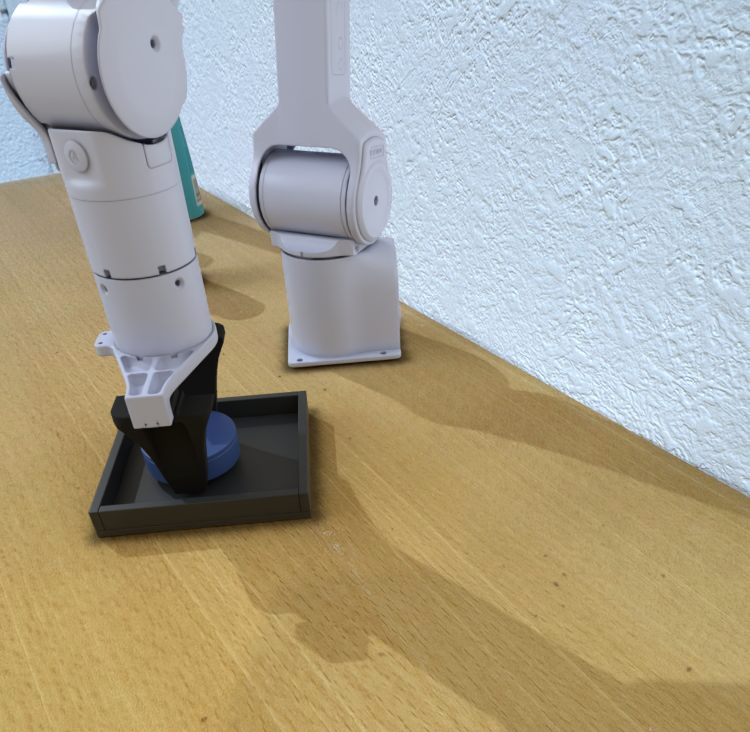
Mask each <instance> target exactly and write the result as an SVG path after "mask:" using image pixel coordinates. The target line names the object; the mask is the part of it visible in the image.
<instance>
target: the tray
mask: <svg viewBox="0 0 750 732" xmlns="http://www.w3.org/2000/svg"><path fill="white" fill-rule="evenodd" d="M217 404H218V412H220V413H222V414H225V415H226V416H228V417H229V418H231V419H232V421H233V422H234V424H235V427H236V431H237V436H238V441H239V445H240V455H239V458H238V460H237V462H236V463H235V464H234V465H233V467H232V468H230V469H229V470H228V471H227V472H225V473H224V474H222V475H220V476H219V477H216V478H214V479H212V480H209V481H208V483H207V489H206V491H204V492H193V493H183V494H175V493H174V491H173V490H172V489H171V487H170V486H169V485H168V484H166V483H163V482H160V481H158V480H157V479H155V478H154V477H153V476H152V475H151V474H150V473H149V471H148V469H147V465H146V462H145V459H144V456H143V453H142V450H141V447H140V446H139V445H138V444H137V443H136V442H135V441H133V440H132V439H131V438H130V437H128V436H127V435H126V434H124V433H123V432H121V431H120V430H118V429H117V432H116V434H115V437H114V440H113V442H112V445H111V448H110V452H109V454H108V457H107V459H106V463H105V465H104V468H103V471H102V473H101V476H100V479H99V481H98V485H97V486H96V487H97V488H96V491H95V493H94V495H93V499H92V501H91V503H90V507H89V510H88V516H89V518H90V521H91V523H92V525H93V528H94V530H95V533H96V536H97V537H98V538H104V537H105V538H106V537H116V536H126V535H127V536H128V535H137V534H150V533H157V532H158V533H159V532H160V533H161V532H169V531H181V530H192V529H202V528H212V527H224V526H234V525H244V524H256V523H266V522H276V521H288V520H299V519H309V518H312V516H313V515H312V483H311V482H312V481H311V438H310V437H311V436H310V410H309V403H308V394H307V390H299V391H298V390H294V391H283V392H282V391H281V392H272V393H261V394H260V393H259V394H248V395H247V394H246V395H237V396H225V397H217Z"/></svg>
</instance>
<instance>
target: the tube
mask: <svg viewBox="0 0 750 732" xmlns="http://www.w3.org/2000/svg"><path fill="white" fill-rule="evenodd" d="M170 130H171V134H172V139H173V144H174V148H175V153H176V158H177V162H178V167H179V172H180V177H181V182H182V186H183V191H184V196H185V200H186V205H187V210H188V214H189V219H190V221H191V220H195V219H198V218H200V217H202V216H203V215H204V214H205V208H204V204H203V199H202V195H201V191H200V188H199V184H198V179H197V175H196V172H195V169H194V164H193V160H192V157H191V153H190V149H189V145H188V142H187V137H186V135H185V132H184V128H183V124H182V120H181V117H180V116H179V117H178V119H177V121H176V123H175V124H174V126H173V127H172V128H171V129H170Z"/></svg>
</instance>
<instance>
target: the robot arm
mask: <svg viewBox="0 0 750 732" xmlns="http://www.w3.org/2000/svg"><path fill="white" fill-rule="evenodd" d="M26 1H27V2H20V3H19V4H17V6H16V8H15V9H14V11H13V12H12V14H11V17H10V19H9V21H8V23H7V27H6V29H5V32H4V37H3V47H2V49H3V60H4V66H5V71H4V72H3V73H0V83H1V86H2V88H3V90H4V92H5V94H6V96H7V98H8V100H9V102H10V103H11V105H12V107H14V109H15V110H16V112H17V113H18V114H19V115H20V116H21V118H22V119H23V120H24V121H26V123H28V125H30V126H31V127H32V128H33V129H34V130H35V132H36V133H37V134H38V136H39V137H40V139H41V141H42V144H43V147H44V150H45V153H46V155H47V159H48V162H49V164H50V165H51V164H53V165H54V166H55V169H56V170H57V171H58V172H59V173H60V174H61V177H62V181H63V184H64V186H65V190H66V192H67V193H66V194H67V195H68V199H69V203H70V207H71V209H72V212H73V215H74V218H75V222H76V224H77V225H76V226H77V228H78V231H79V235H80V238H81V241H82V245H83V248H84V251H85V254H86V256H87V257H86V258H87V261H88V263H89V267H90V269H91V271H92V272H91V273H92V275H93V278H94V281H95V284H96V288H97V291H98V294H99V297H100V300H101V304H102V307H103V310H104V314H105V317H106V320H107V322H108V326H109V329H110V330H105V331H101V332H100V333H99V334H98V335H97V338H96V340H95V342H94V349H95V351H96V355H98V356H100V357H114V358H115V359H116V362H117V365H118V367H119V371H120V372H121V375H122V378H123V381H124V383H125V387H126V389H125V390H126V391H125V394H123V395H116V396H115V398H114V400H113V403H112V406H111V408H110V416H111V419H112V421H113V424H114V426H115V428H116V429H117V431H118V430H120V431H121V432H123V433H124V434H126V435H127V436H128V437H130V438H131V439H132V440H133V441H135V442H136V443H137V444H138V445H139V446H140V447H141V448H142V449H143V450H144V451H145V452H146V453H147V454H148V456H149V457H150V458H151V460H152V461H153V462H154V464H155V465H156V467H157V468H158V470H159V471H160V473H161V474H162V476H163V477H164V479H165V480H166V482H167V483H168V485H169V486H170V487H171V489H172V490H173V491H174V493H175V494H183V493H193V492H204V491H206V489H207V483H208V458H207V447H206V429H207V423H208V420H209V417H210V414H211V411H216V412H218V404H217V398H218V369H219V360H220V355H221V352H222V349H223V347H224V343H225V338H226V328H225V325H223V324H222V323H219V322H215V321H214V320H213V318H212V317H211V313H210V308H209V303H208V299H207V295H206V290H205V285H204V279H203V275H202V270H201V266H200V261H199V256H198V253H197V247H196V243H195V238H194V234H193V229H192V224H191V220H190V219H189V214H188V210H187V205H186V200H185V196H184V191H183V186H182V182H181V177H180V172H179V167H178V162H177V158H176V153H175V148H174V144H173V139H172V134H171V130H170V129H171V128H172V127H173V126H174V124H175V123H176V121H177V119H178V117H180V114H181V111H182V108H183V105H184V104H185V102H186V100H187V94H188V74H187V65H186V59H185V54H184V49H183V38H184V37H183V35H184V32H185V26H184V25H183V20H184V16H183V14H182V12H181V11H180V10H179V4H180V0H26ZM350 3H351V1H350V0H272V7H273V9H272V10H273V27H274V43H275V61H276V63H275V64H276V79H277V83H276V84H277V99H278V102H277V104H276V105H275V107H274V108H273V109H272V110H271V111H270V112H269V113H268V114H267V116H266V117H265V118H264V119H263V120H262V121H261V122H260V123H259V125H257V126H256V128H255V129H254V130H253V133H252V146H253V147H252V148H253V151H252V152H253V153H252V155H253V156H252V163H251V164H252V165H251V171H250V174H249V180H248V201H249V205H250V209H251V211H252V214H253V217H254V219H255V221H256V223H257V225H258V227H260V229H261V230H263V231H264V232H266V233H268V234H269V235H270V242H271V246H272V247H277V248H279V249H280V256H281V264H282V271H283V277H284V284H285V285H284V287H285V293H286V301H287V309H288V315H289V323H288V336H287V337H288V338H287V339H288V343H287V344H288V345H287V365H288V367H290V368H303V367H316V366H328V365H329V366H330V365H341V364H350V363H363V362H375V361H385V360H386V361H387V360H397V359H400V358H401V357H402V350H401V329H400V327H401V325H402V312H401V311H402V310H401V304H400V291H399V288H400V287H399V286H400V285H399V271H398V269H399V268H398V258H397V250H396V244H395V241H394V240H395V239H394V238H393V237H390V236H382V237H381V235H382V234H383V232H384V231H385V230H386V227H387V224H388V222H389V219H390V216H391V215H390V214H391V211H392V205H393V203H392V202H393V186H392V179H391V175H390V172H389V166H388V153H387V142H386V141H387V139H386V138H387V137H386V134H385V133H384V132H383V131H382V130H381V129H380V127H378V125H377V124H375V122H373V121H372V120H371V119H370V118H369V117H368V116H366V114H364V113H363V112H362V111H361V109H360V108H358V107H357V106H356V104H354V103H353V102H352V100H351V23H350V22H351V17H350V15H351V14H350V13H351V12H350V11H351V6H350V5H351V4H350ZM296 147H303V148H305V147H306V148H321V149H332V150H335V151H338V152H330V151H315V150H302V149H296Z"/></svg>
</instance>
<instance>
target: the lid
mask: <svg viewBox="0 0 750 732" xmlns="http://www.w3.org/2000/svg"><path fill="white" fill-rule="evenodd" d="M206 447H207V458H208V481H209V480H212V479H214V478H216V477H219V476H220V475H222V474H224V473H225V472H227V471H228V470H229V469H230V468H232V467H233V465H234V464H235V463H236V462H237V460H238V458H239V455H240V445H239V441H238V436H237V431H236V427H235V424H234V422H233V421H232V419H231V418H229V417H228V416H226V415H225V414H222V413H220V412H216V411H211V414H210V417H209V420H208V423H207V429H206ZM141 450H142V453H143V456H144V459H145V462H146V465H147V469H148V471H149V473H150V474H151V475H152V476H153V477H154V478H155V479H157V480H158V481H160V482H163V483H166V484H168V483H167V482H166V480H165V479H164V477H163V476H162V474H161V473H160V471H159V470H158V468H157V467H156V465H155V464H154V462H153V461H152V460H151V458H150V457H149V456H148V454H147V453H146V452H145V451H144V450H143V449H142V448H141Z"/></svg>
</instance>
